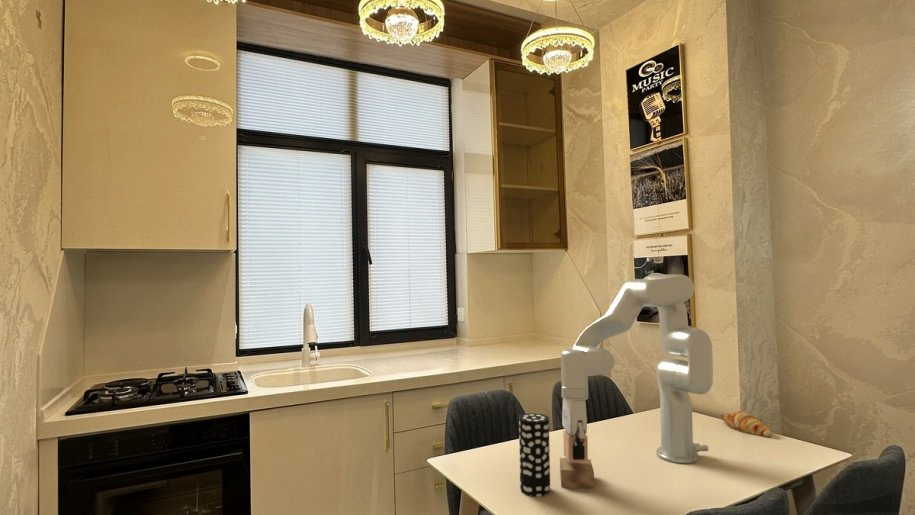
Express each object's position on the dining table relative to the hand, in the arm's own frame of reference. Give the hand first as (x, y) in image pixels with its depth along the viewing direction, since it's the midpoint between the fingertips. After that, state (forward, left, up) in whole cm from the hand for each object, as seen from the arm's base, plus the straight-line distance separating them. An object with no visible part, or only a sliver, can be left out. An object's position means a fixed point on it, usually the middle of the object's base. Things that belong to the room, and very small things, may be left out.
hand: (575, 454), depth 140 cm
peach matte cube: (0, 0, -1) cm, 1 cm away
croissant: (-77, -40, -8) cm, 87 cm away
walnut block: (0, 0, -8) cm, 8 cm away
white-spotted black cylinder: (+13, +5, -8) cm, 16 cm away
